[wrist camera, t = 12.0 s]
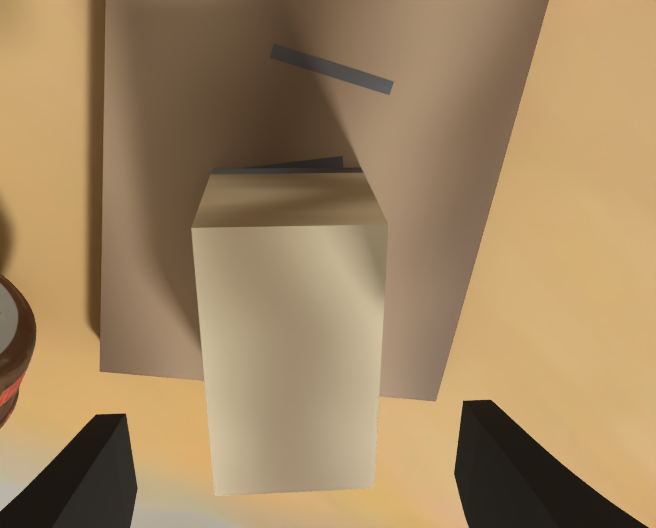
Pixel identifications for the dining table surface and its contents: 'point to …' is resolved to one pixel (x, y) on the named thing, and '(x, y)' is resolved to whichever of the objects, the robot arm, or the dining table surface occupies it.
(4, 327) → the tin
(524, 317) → the dining table surface
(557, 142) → the dining table surface
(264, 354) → the block
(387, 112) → the plank
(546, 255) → the dining table surface
